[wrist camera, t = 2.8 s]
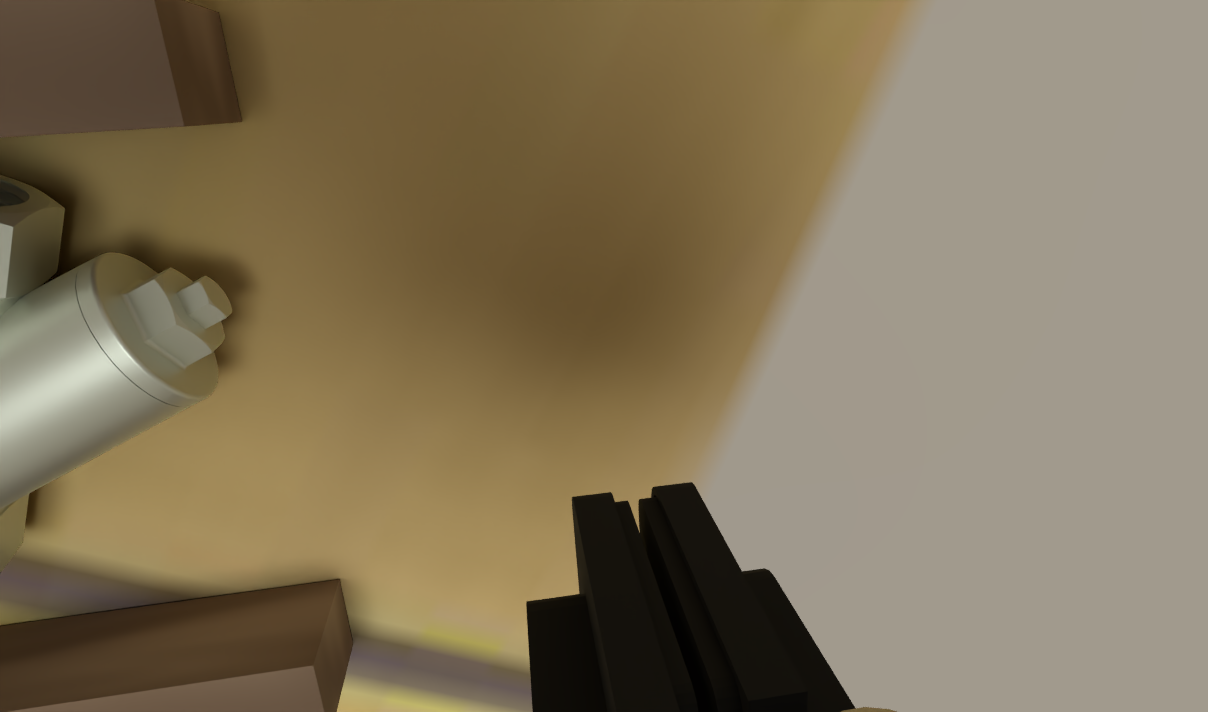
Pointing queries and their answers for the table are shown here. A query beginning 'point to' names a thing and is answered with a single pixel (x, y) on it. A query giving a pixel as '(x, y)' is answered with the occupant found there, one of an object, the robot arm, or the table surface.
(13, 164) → the table surface
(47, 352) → the pipe fitting
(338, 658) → the bench jig
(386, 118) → the table surface
